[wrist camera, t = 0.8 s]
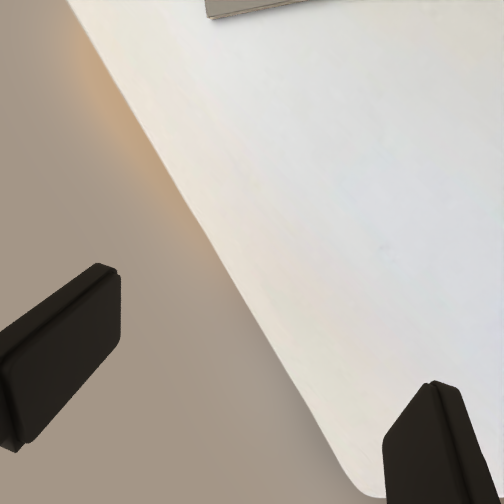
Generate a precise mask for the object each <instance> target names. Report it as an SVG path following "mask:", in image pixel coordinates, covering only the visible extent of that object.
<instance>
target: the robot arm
mask: <svg viewBox="0 0 504 504" xmlns="http://www.w3.org/2000/svg"><path fill="white" fill-rule="evenodd" d="M120 327H121V277H120V275H118V274H117V270H116V269H115V268H112V267H109V266H106V265H103V264H101V263H95V264H94V265H92V266H91V267H89V268H88V269H87V270H85V271H84V272H82V273H81V274H80V275H78V276H77V277H76V278H74V279H73V280H71V281H70V282H69V283H67V284H66V285H64V286H63V287H62V288H60V289H59V290H57V291H56V292H55V293H53V294H52V295H51V296H49V297H48V298H46V299H45V300H44V301H42V302H41V303H39V304H38V305H37V306H35V307H34V308H33V309H31V310H30V311H28V312H27V313H26V314H24V315H23V316H22V317H20V318H19V319H17V320H16V321H15V322H13V323H12V324H10V325H9V326H8V327H6V328H5V329H4V330H2V331H1V332H0V446H1V447H3V448H5V449H8V450H10V451H12V452H14V453H16V452H18V451H19V449H20V448H21V447H22V446H23V445H24V444H25V443H31V442H32V441H33V440H35V438H36V437H38V435H39V434H40V433H41V432H42V431H43V429H44V428H45V427H46V426H47V425H48V424H49V423H50V421H51V420H52V419H53V418H54V417H55V416H56V415H57V414H58V412H59V411H60V410H61V409H62V408H63V407H64V406H65V404H66V403H67V402H68V401H69V400H70V399H71V398H72V396H73V395H74V394H75V393H76V392H77V391H78V390H79V388H80V387H81V386H82V385H83V384H84V383H85V382H86V380H87V379H88V378H89V377H90V376H91V375H92V374H93V372H94V371H95V370H96V369H97V368H98V367H99V365H100V364H101V363H102V362H103V361H104V360H105V359H106V358H107V356H108V355H109V354H110V353H111V352H112V351H113V349H114V348H115V347H116V346H117V344H118V342H119V340H120V333H121V331H120V330H121V328H120ZM382 453H383V464H384V475H385V487H386V498H387V504H501V503H500V500H499V497H498V494H497V491H496V488H495V486H494V483H493V480H492V477H491V474H490V472H489V469H488V466H487V463H486V461H485V459H484V456H483V454H482V453H481V450H480V447H479V444H478V441H477V438H476V435H475V433H474V430H473V427H472V424H471V421H470V418H469V416H468V413H467V410H466V407H465V404H464V401H463V399H462V396H461V393H460V391H459V390H458V389H457V388H456V387H453V386H450V385H447V384H444V383H441V382H438V381H435V380H434V381H432V382H431V383H430V384H428V383H424V384H423V385H422V386H421V388H420V389H419V390H418V392H417V393H416V394H415V396H414V397H413V399H412V400H411V401H410V403H409V404H408V405H407V407H406V408H405V409H404V411H403V412H402V413H401V415H400V416H399V417H398V419H397V420H396V421H395V423H394V424H393V425H392V427H391V428H390V430H389V431H388V432H387V434H386V435H385V437H384V439H383V444H382Z"/></svg>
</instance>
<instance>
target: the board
mask: <svg viewBox="0 0 504 504" xmlns="http://www.w3.org/2000/svg"><path fill="white" fill-rule="evenodd" d="M303 1H308V0H205V6H206V13H207V18H209V19H212V20H213V19H218V18H223V17H228V16H233V15H238V14H243V13H248V12H253V11H258V10H263V9H268V8H273V7H278V6H283V5H288V4H293V3H298V2H303Z"/></svg>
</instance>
